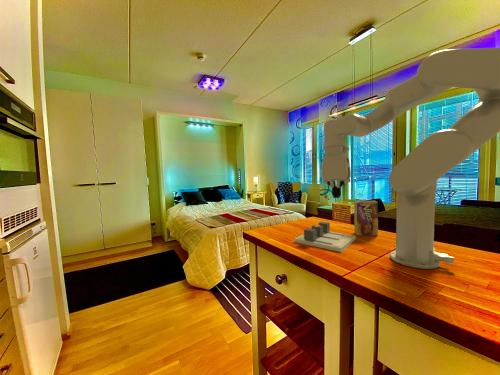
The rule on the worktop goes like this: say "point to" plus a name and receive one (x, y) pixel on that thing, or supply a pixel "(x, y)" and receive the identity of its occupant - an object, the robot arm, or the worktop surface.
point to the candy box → (366, 217)
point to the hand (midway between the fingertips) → (336, 197)
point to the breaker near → (310, 234)
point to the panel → (329, 241)
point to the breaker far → (325, 226)
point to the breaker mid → (318, 230)
